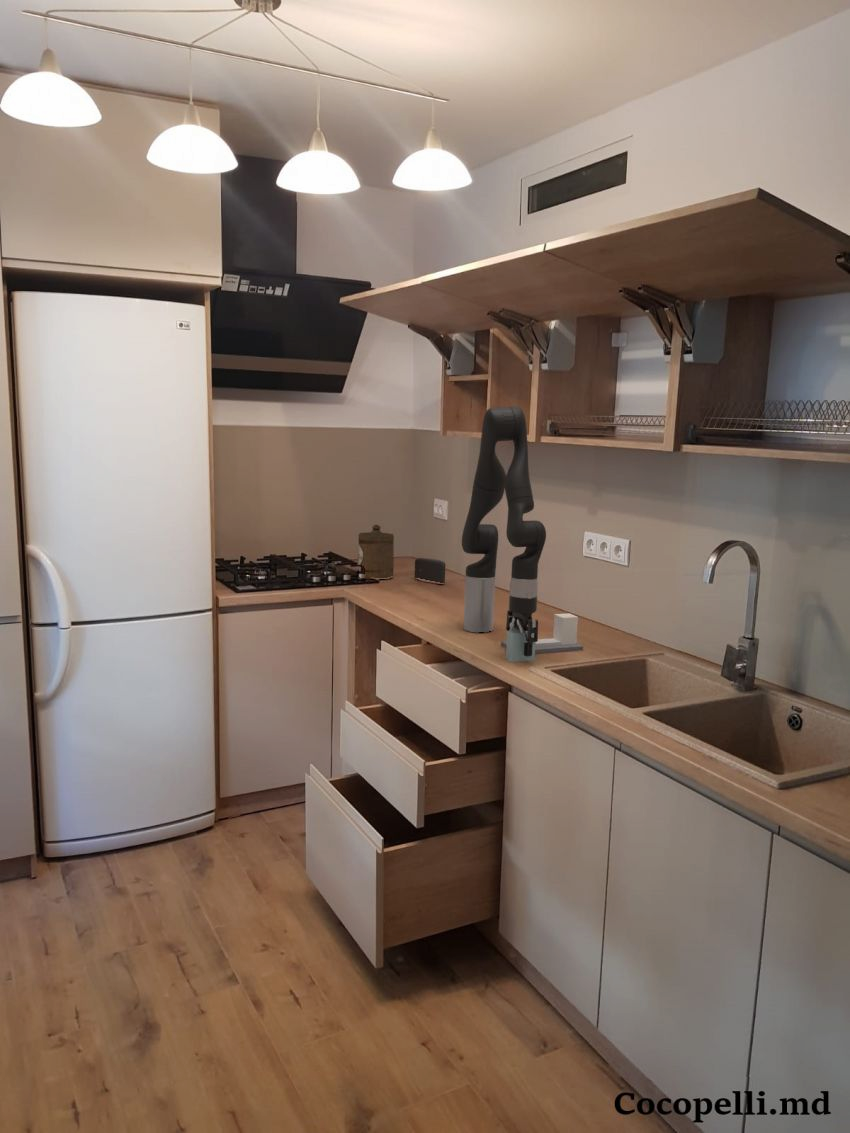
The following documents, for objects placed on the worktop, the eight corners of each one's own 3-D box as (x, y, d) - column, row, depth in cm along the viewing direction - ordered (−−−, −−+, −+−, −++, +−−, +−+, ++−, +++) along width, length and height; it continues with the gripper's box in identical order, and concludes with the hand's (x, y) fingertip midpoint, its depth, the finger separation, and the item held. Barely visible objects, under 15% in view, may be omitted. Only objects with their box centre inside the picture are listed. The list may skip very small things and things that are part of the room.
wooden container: (364, 573, 361) (365, 522, 358) (397, 575, 358) (399, 524, 354) (352, 579, 347) (353, 525, 344) (386, 581, 343) (388, 527, 340)
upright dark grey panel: (450, 584, 341) (451, 561, 340) (442, 586, 338) (443, 562, 336) (421, 579, 352) (421, 556, 351) (413, 580, 349) (414, 557, 347)
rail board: (500, 645, 247) (502, 614, 245) (563, 641, 254) (565, 611, 253) (517, 655, 237) (519, 622, 235) (583, 650, 244) (584, 619, 242)
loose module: (505, 658, 232) (507, 630, 231) (528, 657, 235) (530, 629, 234) (511, 662, 229) (513, 633, 228) (534, 660, 231) (536, 632, 230)
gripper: (499, 589, 234) (497, 646, 237) (523, 599, 221) (520, 659, 224) (523, 588, 237) (521, 644, 239) (548, 598, 224) (545, 657, 226)
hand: (520, 652), depth 232 cm, fingers open, 8 cm apart
